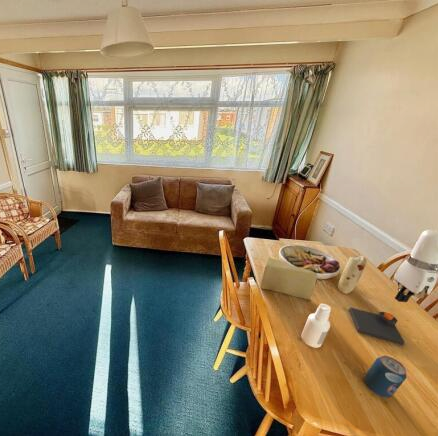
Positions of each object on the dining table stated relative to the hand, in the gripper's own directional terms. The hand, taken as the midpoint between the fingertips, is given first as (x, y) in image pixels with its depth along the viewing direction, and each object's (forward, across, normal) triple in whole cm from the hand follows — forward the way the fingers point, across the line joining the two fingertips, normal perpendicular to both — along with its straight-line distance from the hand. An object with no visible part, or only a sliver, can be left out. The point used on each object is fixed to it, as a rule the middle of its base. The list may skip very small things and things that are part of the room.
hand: (400, 300), depth 91 cm
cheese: (+14, +17, +34) cm, 41 cm away
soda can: (+14, -27, +23) cm, 38 cm away
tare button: (+11, +1, 0) cm, 11 cm away
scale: (+14, -1, +6) cm, 15 cm away
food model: (+14, +21, +3) cm, 26 cm away
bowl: (+14, +41, +12) cm, 45 cm away
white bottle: (+14, -11, +36) cm, 40 cm away
